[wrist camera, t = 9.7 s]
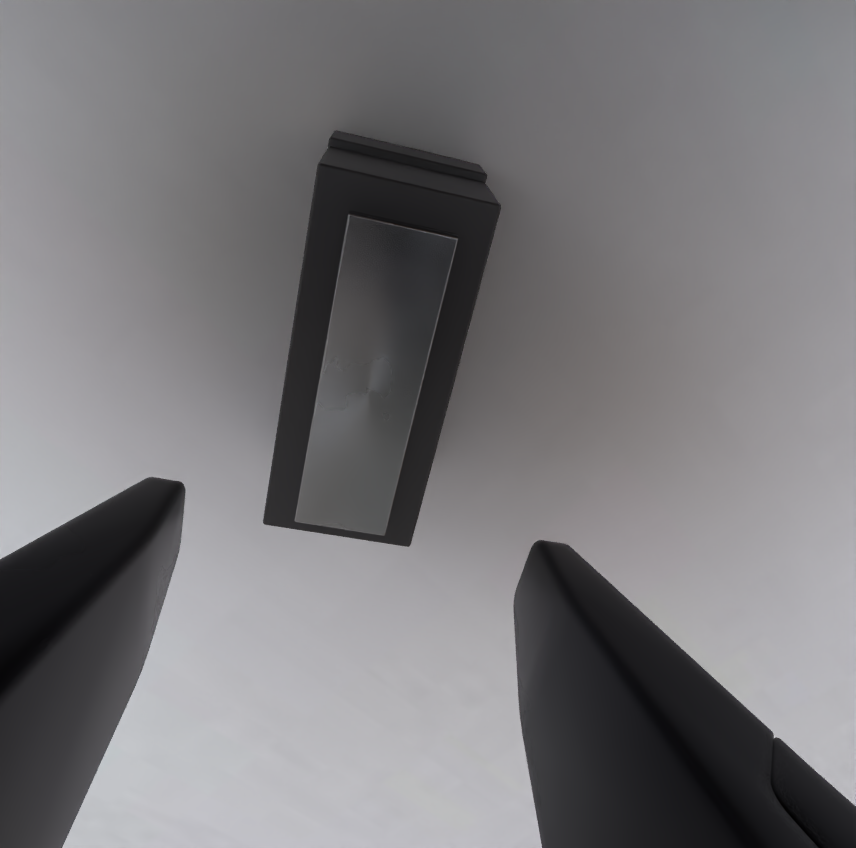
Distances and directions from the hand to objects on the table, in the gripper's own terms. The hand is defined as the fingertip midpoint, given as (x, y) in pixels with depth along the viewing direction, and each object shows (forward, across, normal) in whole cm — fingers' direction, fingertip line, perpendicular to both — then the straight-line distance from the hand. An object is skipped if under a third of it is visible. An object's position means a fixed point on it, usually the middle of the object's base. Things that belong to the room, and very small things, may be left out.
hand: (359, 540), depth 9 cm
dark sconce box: (+8, 0, 0) cm, 8 cm away
